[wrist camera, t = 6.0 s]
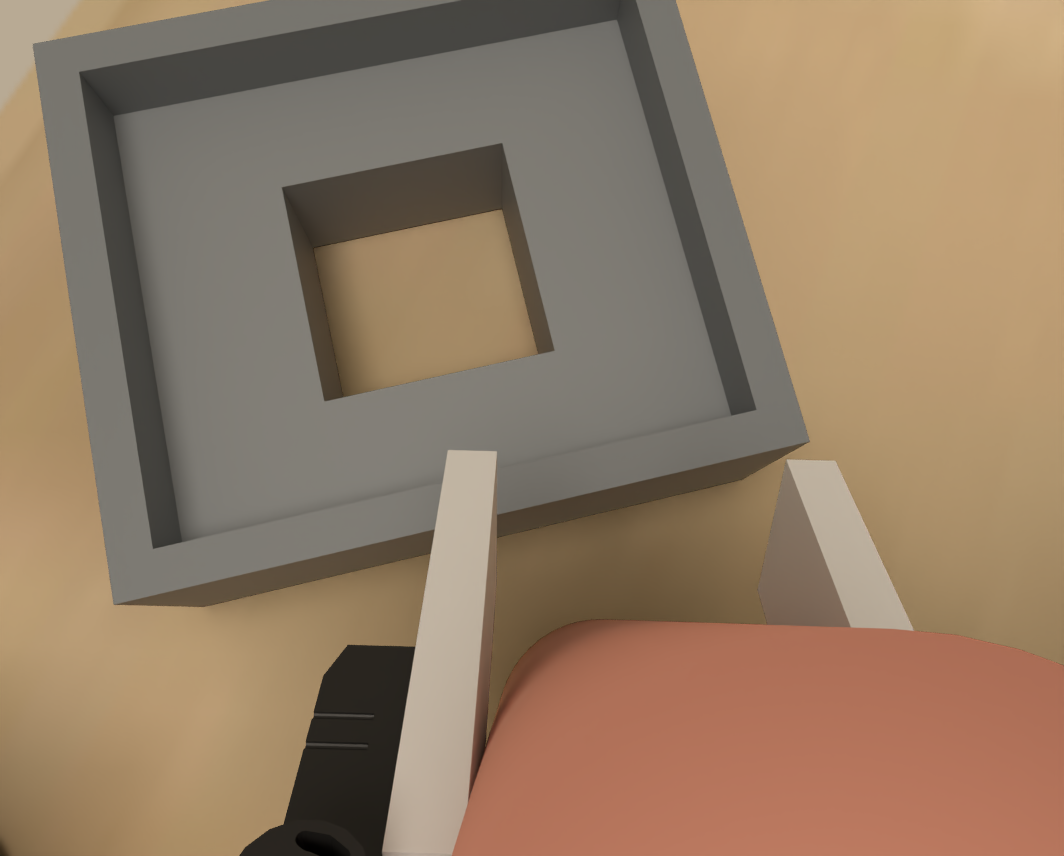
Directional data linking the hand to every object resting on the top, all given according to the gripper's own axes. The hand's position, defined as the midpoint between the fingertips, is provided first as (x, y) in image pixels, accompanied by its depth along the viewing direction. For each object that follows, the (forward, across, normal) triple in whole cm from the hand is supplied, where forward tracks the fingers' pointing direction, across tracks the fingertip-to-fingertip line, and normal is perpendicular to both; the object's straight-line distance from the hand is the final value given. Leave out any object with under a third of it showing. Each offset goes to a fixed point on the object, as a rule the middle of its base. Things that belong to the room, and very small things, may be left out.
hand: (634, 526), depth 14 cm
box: (+13, -5, -3) cm, 15 cm away
